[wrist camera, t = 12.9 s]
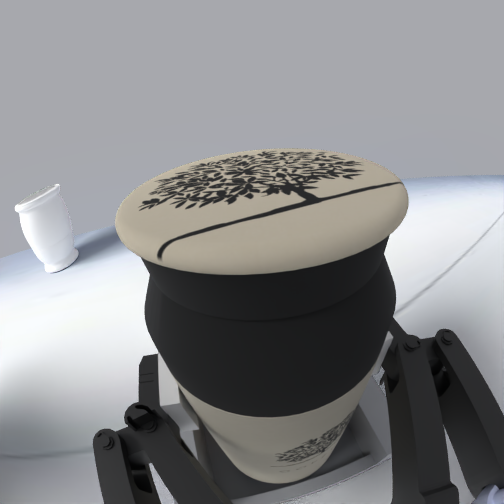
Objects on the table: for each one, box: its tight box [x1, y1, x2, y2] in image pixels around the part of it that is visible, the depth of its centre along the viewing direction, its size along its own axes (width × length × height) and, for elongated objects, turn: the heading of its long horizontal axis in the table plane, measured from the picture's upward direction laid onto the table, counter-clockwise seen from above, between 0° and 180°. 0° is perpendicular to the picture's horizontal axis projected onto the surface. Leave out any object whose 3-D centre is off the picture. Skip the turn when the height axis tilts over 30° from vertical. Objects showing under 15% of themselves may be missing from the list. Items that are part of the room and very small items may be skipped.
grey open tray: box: [174, 376, 392, 504], centre depth 22 cm, size 15×28×8 cm, turn 14°
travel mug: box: [115, 148, 408, 483], centre depth 11 cm, size 8×8×18 cm
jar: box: [15, 184, 79, 273], centre depth 41 cm, size 11×10×15 cm
